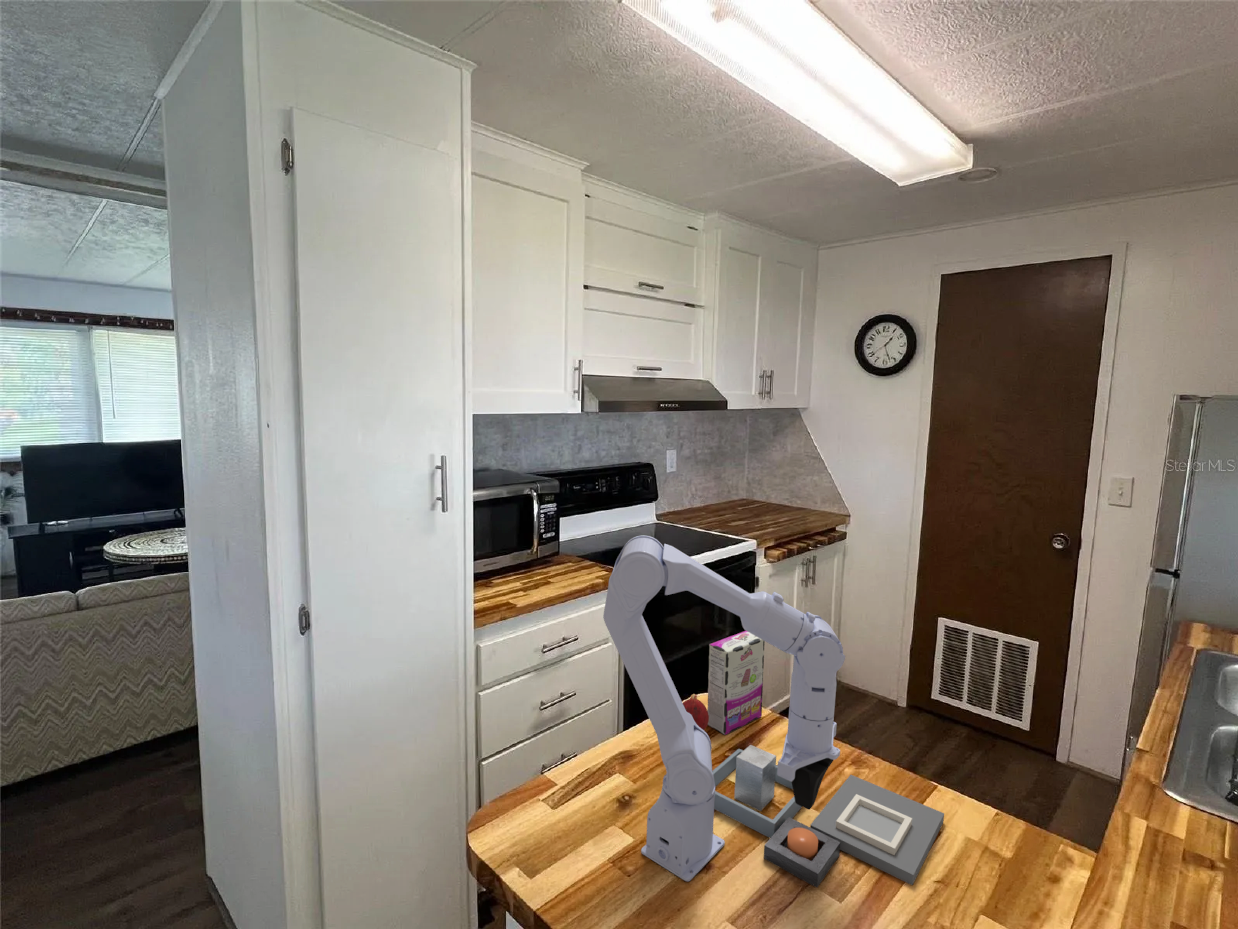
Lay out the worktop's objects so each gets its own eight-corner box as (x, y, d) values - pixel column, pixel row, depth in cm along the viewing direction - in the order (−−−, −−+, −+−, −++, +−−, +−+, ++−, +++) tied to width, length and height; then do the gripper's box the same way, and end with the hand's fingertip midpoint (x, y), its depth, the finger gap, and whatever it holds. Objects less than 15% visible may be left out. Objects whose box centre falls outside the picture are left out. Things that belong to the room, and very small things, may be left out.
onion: (709, 745, 112) (711, 703, 111) (677, 744, 113) (679, 702, 112) (705, 728, 118) (707, 688, 117) (675, 727, 118) (676, 687, 117)
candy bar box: (742, 707, 126) (746, 629, 124) (762, 717, 123) (766, 637, 121) (704, 725, 119) (708, 642, 117) (724, 736, 116) (728, 651, 114)
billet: (760, 811, 95) (762, 768, 94) (734, 798, 98) (736, 756, 97) (773, 797, 99) (776, 755, 98) (748, 785, 102) (750, 744, 101)
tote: (773, 840, 89) (774, 824, 89) (695, 799, 98) (696, 784, 97) (811, 795, 99) (812, 781, 99) (738, 762, 108) (738, 748, 107)
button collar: (817, 888, 81) (818, 874, 80) (763, 858, 86) (764, 845, 85) (839, 855, 87) (840, 842, 86) (788, 829, 91) (788, 817, 91)
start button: (809, 869, 83) (810, 853, 83) (781, 854, 86) (782, 838, 85) (821, 853, 86) (822, 837, 86) (794, 839, 89) (795, 823, 89)
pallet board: (912, 885, 82) (914, 868, 81) (809, 834, 90) (810, 818, 90) (943, 822, 94) (944, 807, 93) (850, 783, 103) (851, 768, 102)
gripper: (818, 744, 75) (810, 847, 77) (860, 700, 86) (853, 792, 88) (765, 722, 80) (758, 820, 82) (811, 684, 91) (805, 771, 93)
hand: (804, 804), depth 85 cm, fingers closed
